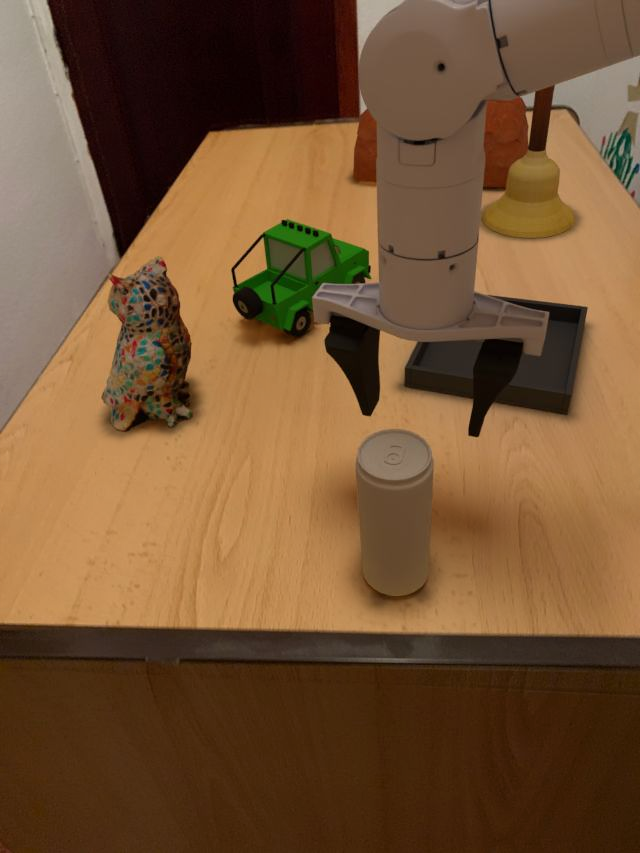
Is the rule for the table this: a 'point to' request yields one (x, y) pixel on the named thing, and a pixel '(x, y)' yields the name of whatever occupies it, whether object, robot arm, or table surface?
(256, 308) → the toy car
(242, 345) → the table surface
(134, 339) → the figurine
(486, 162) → the bread
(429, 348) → the tray
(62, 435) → the table surface
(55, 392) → the table surface
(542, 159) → the handbell
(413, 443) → the beverage can
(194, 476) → the table surface
